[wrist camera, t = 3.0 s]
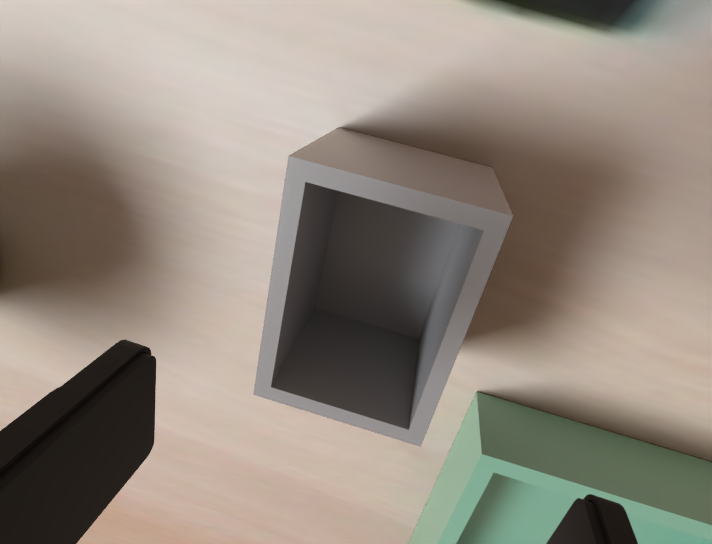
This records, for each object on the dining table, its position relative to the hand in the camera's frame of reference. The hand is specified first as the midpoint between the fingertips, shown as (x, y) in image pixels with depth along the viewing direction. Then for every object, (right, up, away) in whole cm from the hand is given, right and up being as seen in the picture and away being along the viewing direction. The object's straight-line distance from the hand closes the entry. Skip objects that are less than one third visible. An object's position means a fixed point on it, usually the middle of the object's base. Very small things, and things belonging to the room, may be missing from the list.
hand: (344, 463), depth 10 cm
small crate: (+2, +5, +10) cm, 12 cm away
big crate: (+11, -10, +15) cm, 21 cm away
